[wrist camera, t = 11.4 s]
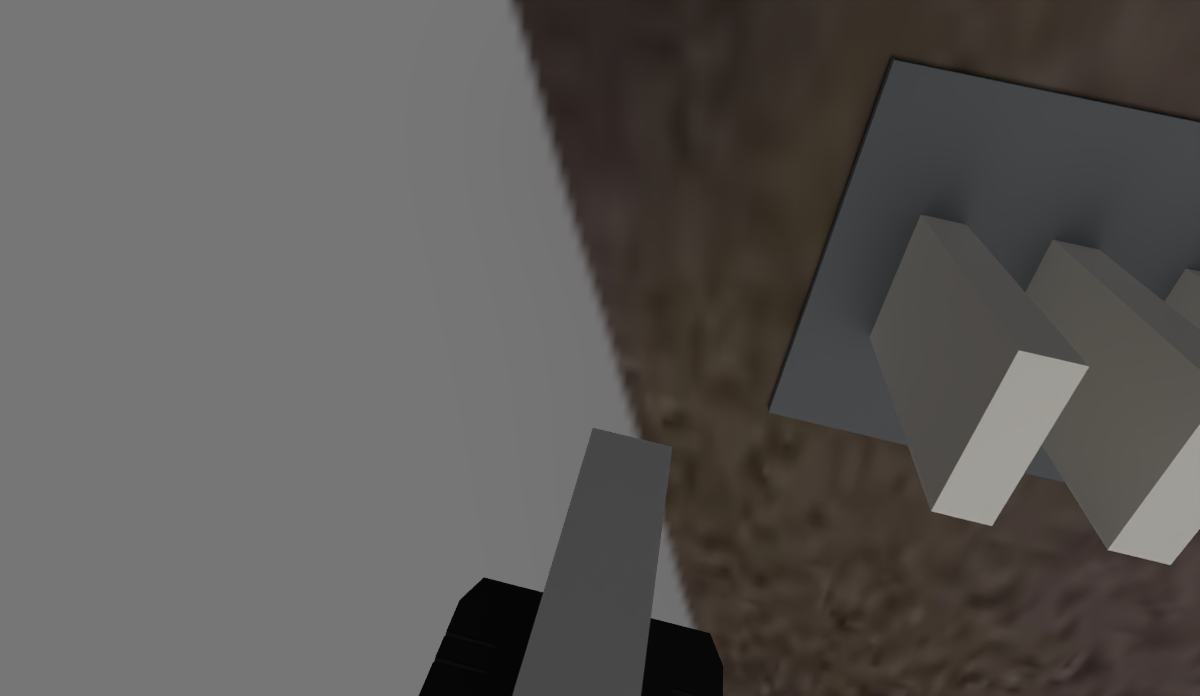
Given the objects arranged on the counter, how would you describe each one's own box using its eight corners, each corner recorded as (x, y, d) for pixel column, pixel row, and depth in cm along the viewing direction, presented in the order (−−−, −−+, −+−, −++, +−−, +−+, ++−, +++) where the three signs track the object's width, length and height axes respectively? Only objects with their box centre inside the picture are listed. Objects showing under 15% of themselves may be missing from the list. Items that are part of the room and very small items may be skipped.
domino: (1052, 239, 25) (1223, 391, 16) (1099, 249, 25) (1297, 407, 16) (989, 361, 27) (1107, 549, 19) (1031, 370, 27) (1170, 565, 18)
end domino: (921, 214, 25) (1018, 350, 16) (966, 224, 25) (1089, 366, 16) (869, 337, 28) (930, 511, 19) (910, 346, 27) (991, 526, 19)
